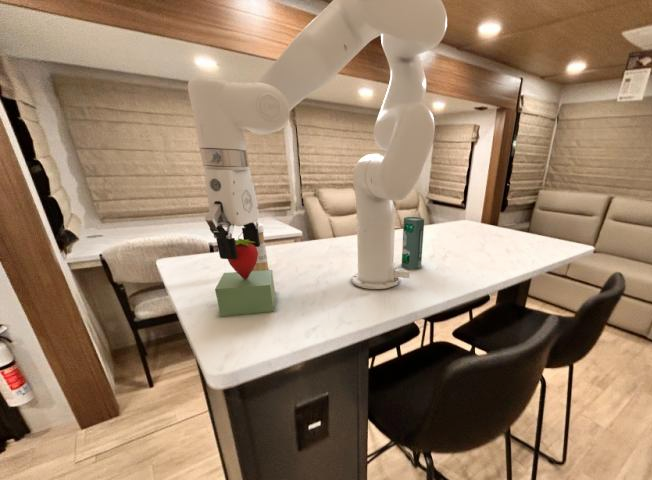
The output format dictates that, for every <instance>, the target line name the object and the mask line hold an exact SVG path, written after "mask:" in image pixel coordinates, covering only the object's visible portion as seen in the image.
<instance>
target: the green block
mask: <svg viewBox="0 0 652 480" xmlns="http://www.w3.org/2000/svg"><path fill="white" fill-rule="evenodd" d="M273 274H274V273H273V270H272V269H269V270H264V271H252V272H251V273H250V275H249V277H248V278H247V279H244V278H242V277H241V276H240V275H239V274H238V273H237V272H236V271H232V272H231V271H230V272H223V273H222V275H221V278H220V279H219V281H218V283H217V284H216V287H215V288H214V291H215V295H216V299H217V305H218V309H219V315H220V317H229V316H239V315H241V316H242V315H250V314H259V313H260V314H261V313H269V312H274V311H275V301H276V289H275V288H276V287H275V282H274V281H275V280H274V275H273Z"/></svg>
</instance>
